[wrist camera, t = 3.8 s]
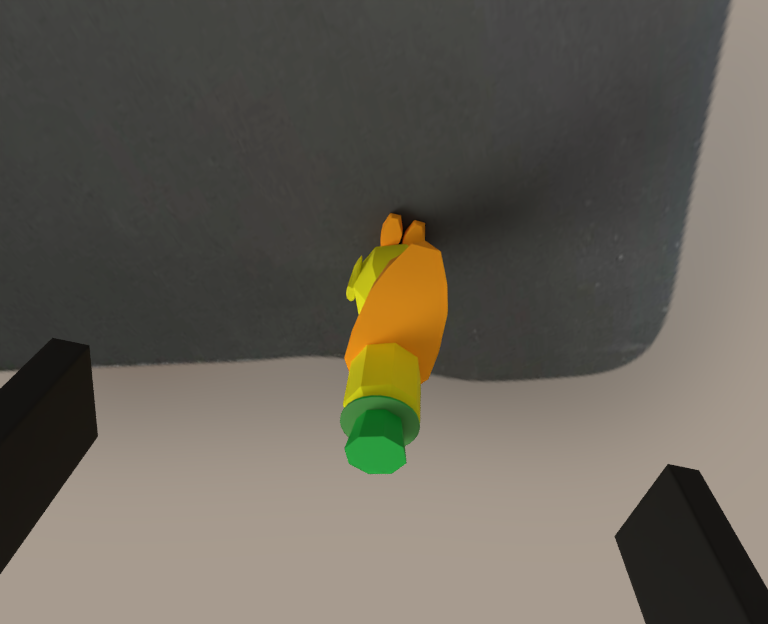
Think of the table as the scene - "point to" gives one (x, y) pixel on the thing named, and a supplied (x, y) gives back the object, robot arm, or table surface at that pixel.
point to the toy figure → (392, 345)
